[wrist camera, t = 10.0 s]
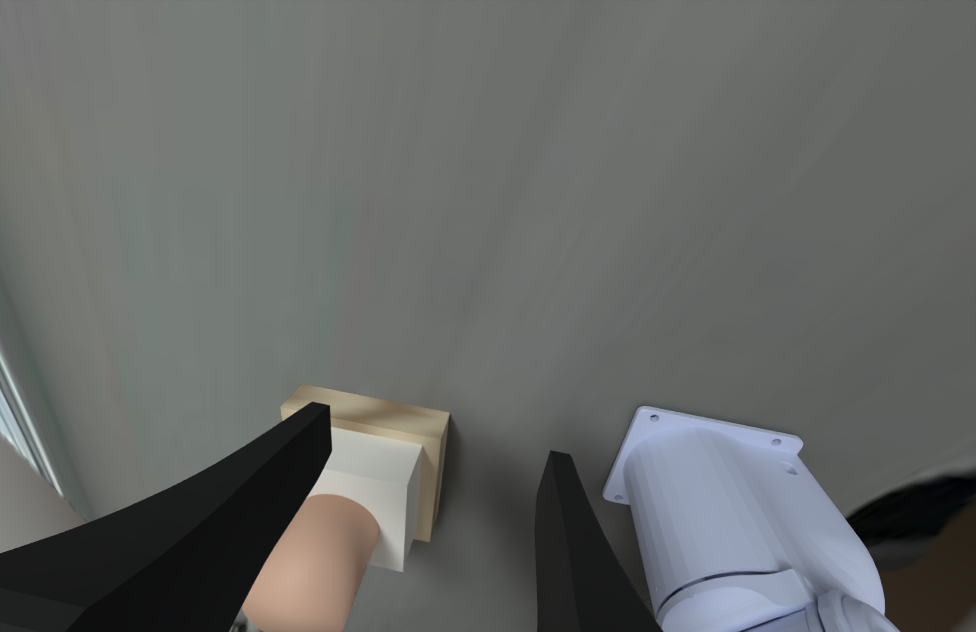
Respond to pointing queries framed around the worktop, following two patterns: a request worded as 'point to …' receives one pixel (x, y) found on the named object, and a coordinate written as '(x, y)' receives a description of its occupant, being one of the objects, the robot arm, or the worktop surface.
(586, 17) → the worktop surface
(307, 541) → the cylinder
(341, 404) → the tower base
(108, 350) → the worktop surface
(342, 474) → the tower top
